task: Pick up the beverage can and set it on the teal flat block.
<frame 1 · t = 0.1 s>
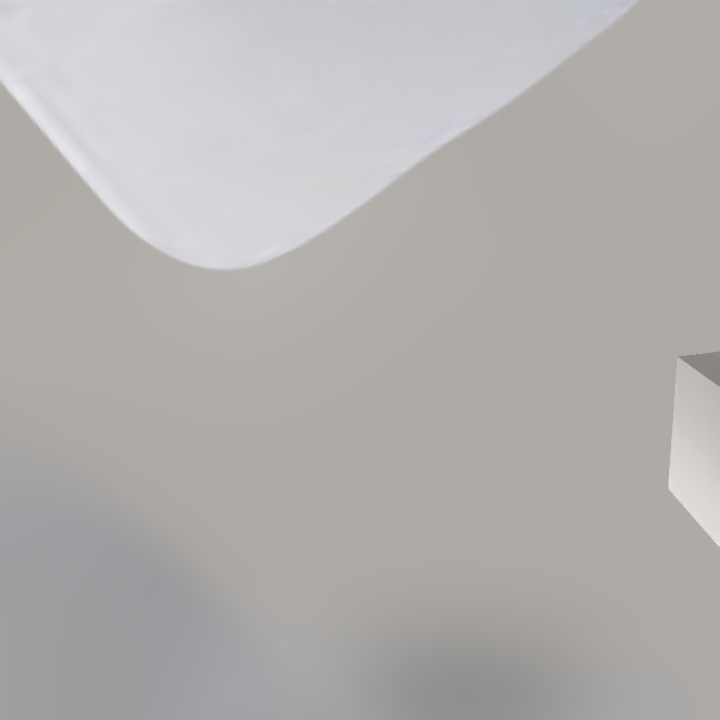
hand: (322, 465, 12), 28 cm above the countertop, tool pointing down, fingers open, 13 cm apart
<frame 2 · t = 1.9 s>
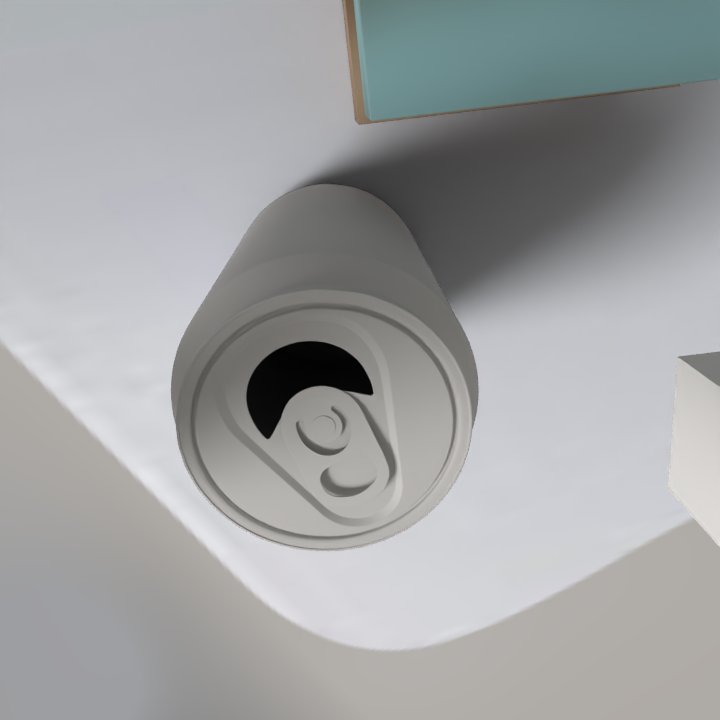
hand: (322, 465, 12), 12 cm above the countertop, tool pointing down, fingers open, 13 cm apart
beverage can: (329, 271, 24), on the countertop
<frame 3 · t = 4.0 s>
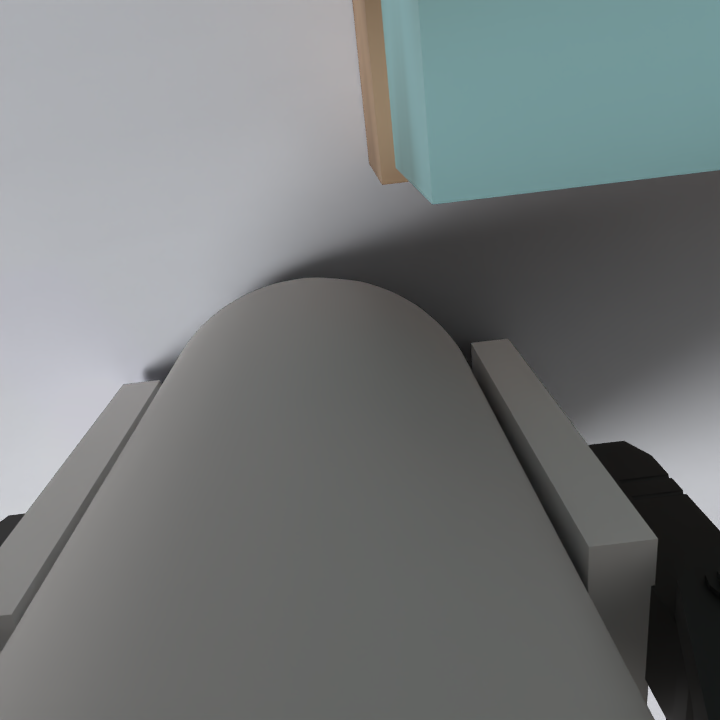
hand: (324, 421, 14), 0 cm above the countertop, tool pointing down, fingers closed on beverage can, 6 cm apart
beverage can: (324, 410, 14), on the countertop, touching gripper
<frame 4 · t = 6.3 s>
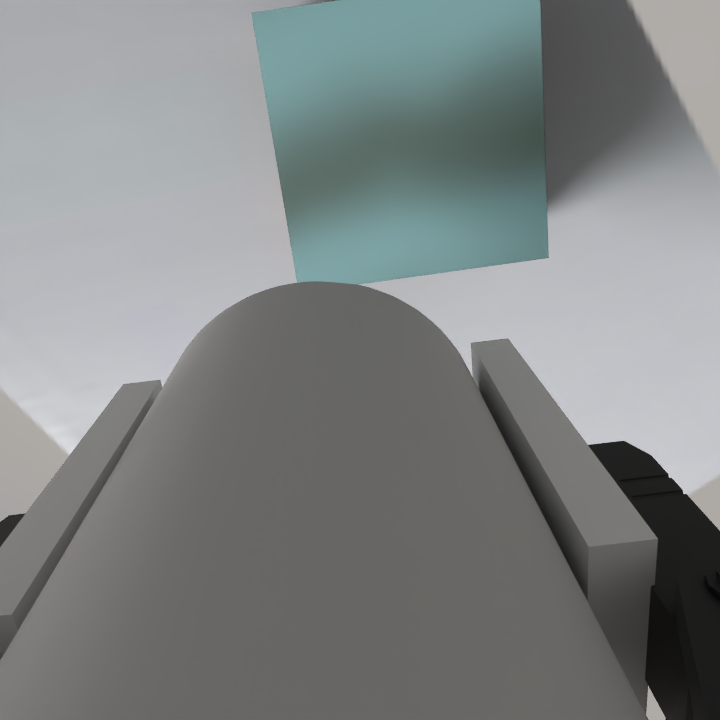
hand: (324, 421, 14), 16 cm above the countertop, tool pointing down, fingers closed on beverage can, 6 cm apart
beverage can: (323, 412, 14), point 16 cm above the countertop, touching gripper
teal flat block: (391, 139, 27), on the countertop
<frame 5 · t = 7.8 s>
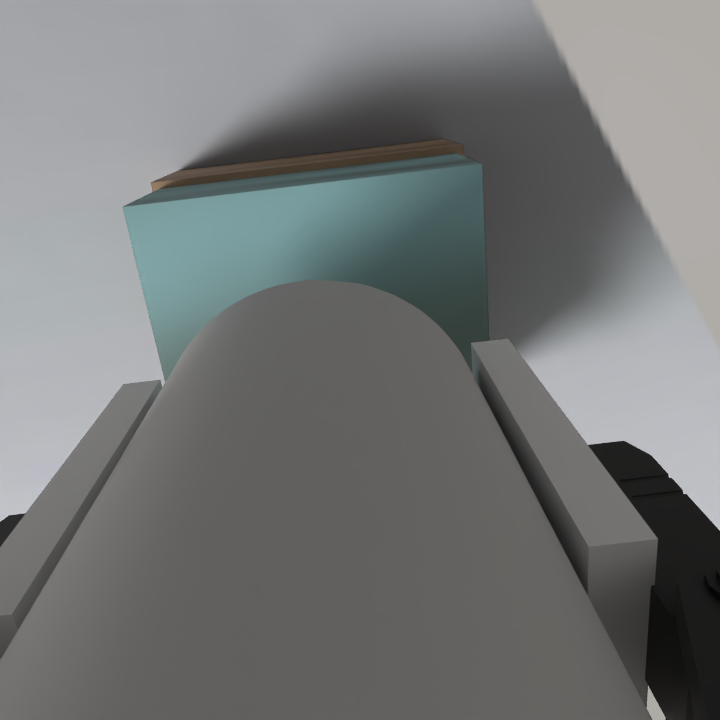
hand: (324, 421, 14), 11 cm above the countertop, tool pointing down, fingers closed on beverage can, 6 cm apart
beverage can: (324, 412, 14), point 10 cm above the countertop, touching gripper
teal flat block: (327, 284, 23), on the countertop
when the fingers open (9 cm above the countertop, at t = 8.9 s): beverage can drops 1 cm, resting on teal flat block.
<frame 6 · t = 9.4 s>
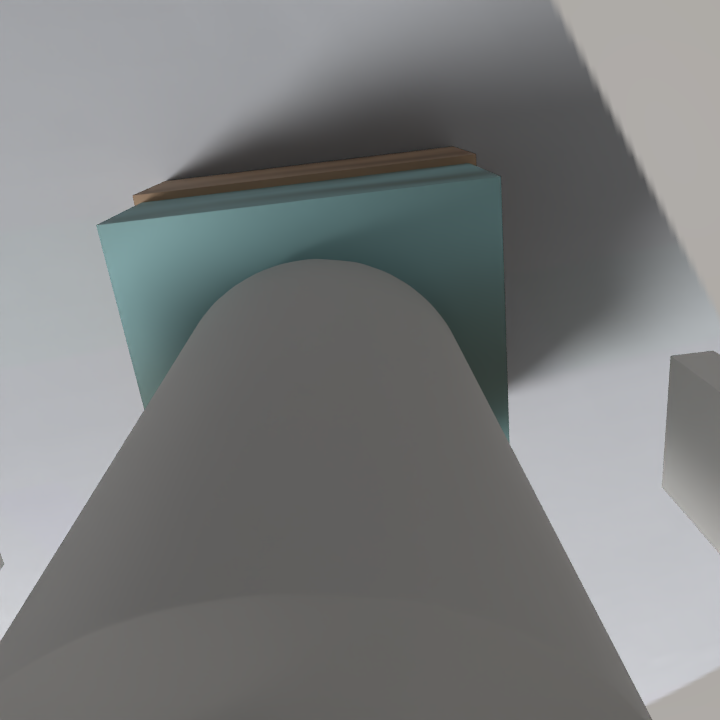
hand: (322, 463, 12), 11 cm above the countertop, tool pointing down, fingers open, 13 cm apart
beverage can: (325, 382, 15), point 7 cm above the countertop, touching teal flat block
teal flat block: (327, 302, 22), on the countertop
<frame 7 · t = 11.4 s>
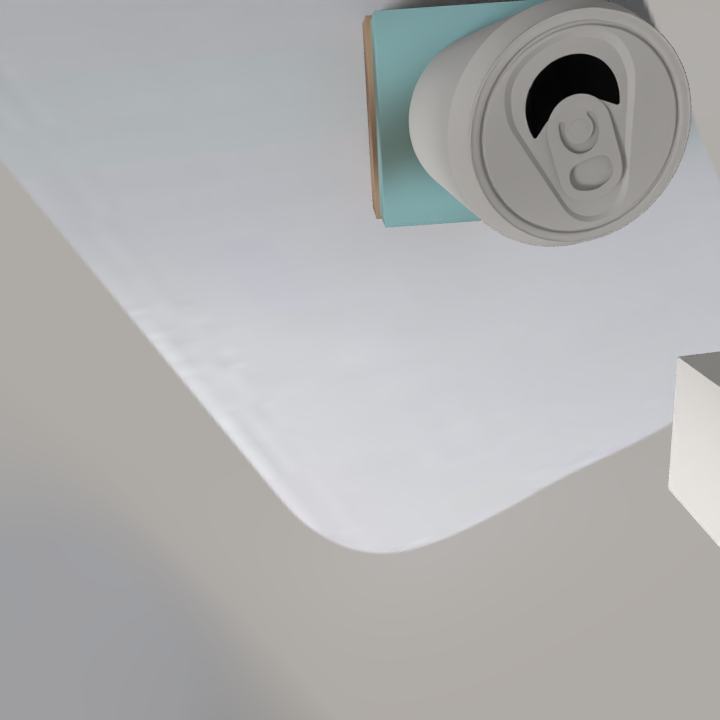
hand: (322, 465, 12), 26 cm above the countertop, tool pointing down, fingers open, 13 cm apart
beverage can: (480, 117, 28), point 7 cm above the countertop, touching teal flat block
teal flat block: (453, 114, 34), on the countertop
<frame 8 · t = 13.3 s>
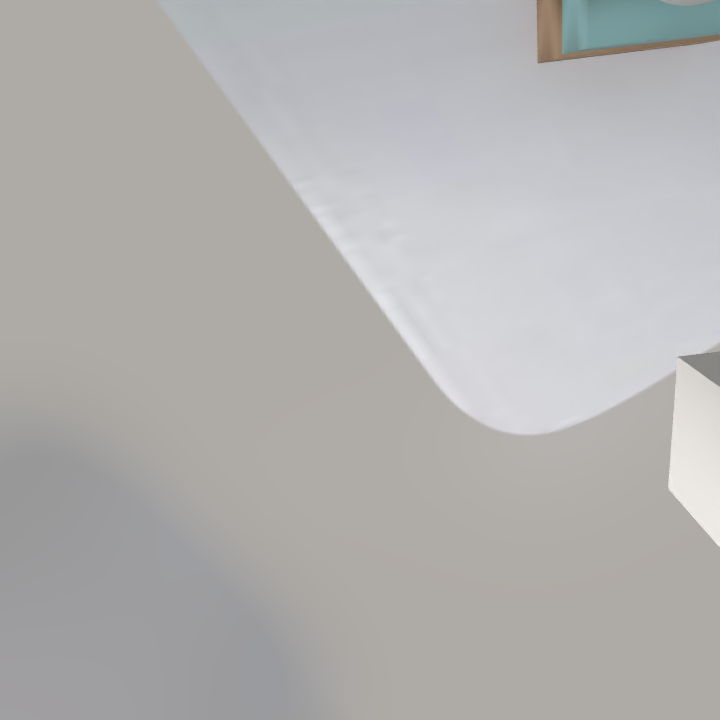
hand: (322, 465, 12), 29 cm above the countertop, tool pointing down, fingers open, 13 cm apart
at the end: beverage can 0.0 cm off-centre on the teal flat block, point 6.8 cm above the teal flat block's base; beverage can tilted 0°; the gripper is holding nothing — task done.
